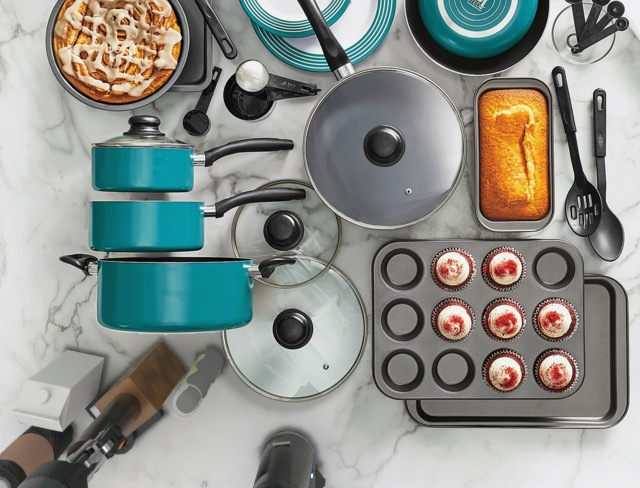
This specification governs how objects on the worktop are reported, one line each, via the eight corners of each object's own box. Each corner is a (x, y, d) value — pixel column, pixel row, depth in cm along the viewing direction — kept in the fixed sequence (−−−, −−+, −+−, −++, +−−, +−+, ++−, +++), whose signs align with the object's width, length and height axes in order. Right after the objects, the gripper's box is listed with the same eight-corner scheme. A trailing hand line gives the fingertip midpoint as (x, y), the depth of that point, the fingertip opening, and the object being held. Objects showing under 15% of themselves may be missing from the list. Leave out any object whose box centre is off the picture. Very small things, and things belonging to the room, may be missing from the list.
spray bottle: (191, 361, 122) (160, 406, 102) (210, 342, 122) (182, 383, 102) (211, 380, 122) (183, 429, 102) (229, 361, 122) (205, 406, 102)
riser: (186, 370, 122) (157, 411, 104) (156, 395, 122) (122, 440, 104) (161, 340, 122) (128, 376, 104) (132, 365, 122) (93, 405, 104)
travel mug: (27, 420, 123) (-37, 476, 103) (66, 406, 123) (10, 459, 103) (42, 459, 123) (-19, 523, 103) (81, 445, 123) (28, 506, 103)
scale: (167, 416, 122) (162, 423, 119) (122, 452, 123) (116, 460, 120) (129, 370, 122) (124, 376, 119) (84, 407, 123) (78, 414, 120)
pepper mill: (147, 410, 104) (110, 461, 88) (123, 430, 104) (81, 484, 88) (127, 386, 104) (86, 432, 88) (103, 406, 104) (58, 455, 88)
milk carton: (97, 395, 122) (51, 443, 103) (59, 387, 123) (6, 434, 104) (105, 357, 122) (60, 398, 103) (67, 349, 122) (14, 389, 103)
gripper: (13, 576, 76) (74, 496, 93) (110, 497, 76) (154, 431, 92) (-30, 525, 76) (39, 454, 93) (68, 445, 76) (119, 389, 92)
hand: (96, 443), depth 93 cm, fingers open, 6 cm apart
